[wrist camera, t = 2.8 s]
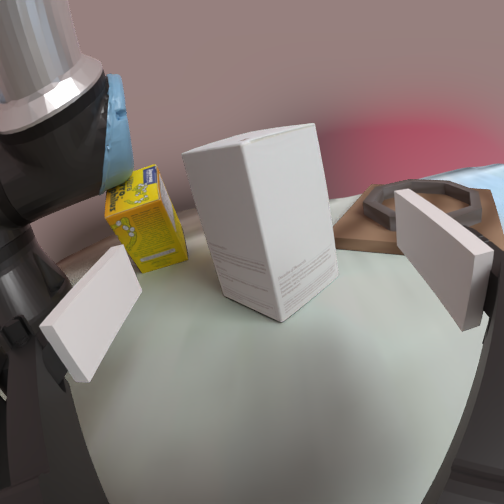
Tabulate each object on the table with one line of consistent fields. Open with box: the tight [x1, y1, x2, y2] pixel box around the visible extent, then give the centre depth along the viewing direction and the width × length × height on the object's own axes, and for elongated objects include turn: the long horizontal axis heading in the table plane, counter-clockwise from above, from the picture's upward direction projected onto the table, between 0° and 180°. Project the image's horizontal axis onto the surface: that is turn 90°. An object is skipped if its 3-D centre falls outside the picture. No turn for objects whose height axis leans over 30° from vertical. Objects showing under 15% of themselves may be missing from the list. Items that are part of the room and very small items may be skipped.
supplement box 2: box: [181, 123, 339, 322], centre depth 24 cm, size 7×7×13 cm
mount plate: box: [333, 179, 504, 255], centre depth 31 cm, size 18×18×3 cm
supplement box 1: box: [105, 164, 188, 273], centre depth 33 cm, size 6×6×11 cm
